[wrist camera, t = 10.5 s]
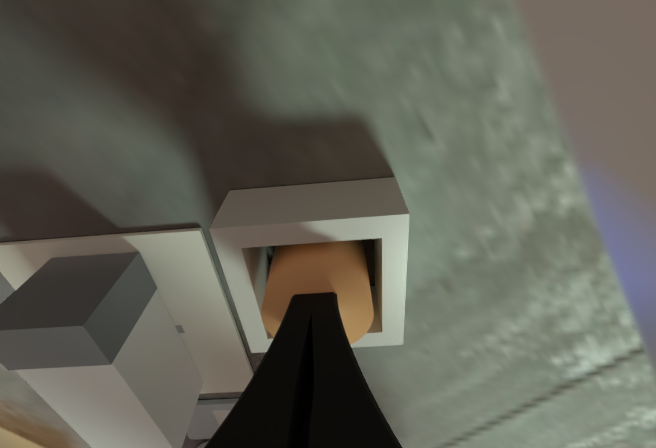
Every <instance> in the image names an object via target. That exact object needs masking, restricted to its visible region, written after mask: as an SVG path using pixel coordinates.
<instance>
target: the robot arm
mask: <svg viewBox="0 0 656 448" xmlns="http://www.w3.org/2000/svg"><path fill="white" fill-rule="evenodd" d="M204 448H402V446H401V445H400V443H399V441H398V440H397V438H396V436H395V435H394V433H393V431H392V430H391V428H390V426H389V424H388V422H387V421H386V419H385V417H384V415H383V414H382V412H381V410H380V408H379V406H378V404H377V402H376V400H375V399H374V397H373V395H372V393H371V391H370V389H369V387H368V385H367V382H366V380H365V378H364V376H363V374H362V372H361V370H360V367H359V365H358V363H357V360H356V358H355V356H354V353H353V351H352V348H351V346H350V343H349V340H348V338H347V335H346V332H345V329H344V326H343V323H342V319H341V316H340V311H339V307H338V299H337V294H336V293H334V292H325V293H310V294H294V295H293V296H292V297H291V300H290V303H289V306H288V308H287V311H286V313H285V315H284V318H283V320H282V322H281V324H280V326H279V329H278V331H277V333H276V335H275V337H274V339H273V341H272V343H271V344H270V346H269V348H268V350H267V352H266V354H265V356H264V358H263V360H262V361H261V363H260V365H259V366H258V368H257V370H256V372H255V373H254V375H253V377H252V379H251V380H250V382H249V384H248V385H247V387H246V388H245V390H244V392H243V393H242V395H241V396H240V398H239V399H238V401H237V402H236V404H235V405H234V407H233V408H232V410H231V411H230V413H229V414H228V416H227V417H226V418H225V420H224V421H223V422H222V424H221V425H220V427H219V428H218V429H217V431H216V432H215V433H214V435H213V436H212V438H211V439H210V440H209V442H208V443H207V444H206V446H205V447H204Z"/></svg>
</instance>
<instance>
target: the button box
mask: <svg viewBox="0 0 656 448" xmlns="http://www.w3.org/2000/svg"><path fill="white" fill-rule="evenodd" d="M209 231H210V234H211V236H212V239H213V242H214V245H215V248H216V251H217V254H218V257H219V260H220V263H221V266H222V268H223V271H224V274H225V277H226V280H227V283H228V286H229V289H230V292H231V295H232V298H233V300H234V303H235V306H236V309H237V312H238V315H239V318H240V321H241V324H242V327H243V330H244V332H245V335H246V338H247V341H248V344H249V347H250V350H251V353H261V352H267V350H268V348H269V346H270V344H271V343H272V341H273V339H274V337H273V336H272V335H271V334H270V333H269V331H268V330H267V329H266V327H265V325H264V323H263V321H262V316H261V309H262V304H263V299H264V294H265V290H266V285H267V281H268V276H269V272H270V265H269V261H268V257H267V253H266V248H265V246H278V245H292V244H306V243H320V242H334V241H348V240H362V239H374V271H375V286H370V290H371V297H372V304H373V311H374V317H373V322H372V324H371V327H370V328H369V330H368V331H367V333H366V334H365V335H364V336H363V337H362V338H361V339H359V340H358V341H356V342H355V343H353V344H351V345H350V346H351V347H369V346H387V345H403V334H404V314H405V294H406V274H407V254H408V234H409V211H408V209H407V206H406V204H405V201H404V198H403V196H402V193H401V191H400V188H399V185H398V183H397V180H396V177H390V178H378V179H365V180H353V181H341V182H328V183H316V184H303V185H291V186H279V187H266V188H254V189H242V190H229V192H228V194H227V196H226V198H225V200H224V202H223V204H222V205H221V207H220V209H219V211H218V213H217V215H216V217H215V219H214V220H213V222H212V224H211V226H210V228H209Z"/></svg>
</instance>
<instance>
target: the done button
mask: <svg viewBox="0 0 656 448" xmlns="http://www.w3.org/2000/svg"><path fill="white" fill-rule="evenodd" d="M325 292H334V293H336V294H337V299H338V307H339V311H340V316H341V319H342V323H343V326H344V329H345V332H346V335H347V338H348V340H349V343H350V345H351V344H353V343H355V342H356V341H358V340H359V339H361V338H362V337H363V336H364V335H365V334H366V333H367V331H368V330H369V328H370V327H371V324H372V322H373V317H374V311H373V304H372V297H371V290H370V283H369V276H368V269H367V262H366V255H365V249H364V246H363V243H362V241H361V240H348V241H334V242H320V243H306V244H292V245H278V246H275V249H274V254H273V258H272V263H271V267H270V272H269V276H268V281H267V285H266V290H265V294H264V299H263V304H262V309H261V316H262V321H263V323H264V325H265V327H266V329H267V330H268V331H269V333H270V334H271V335H272V336H273V337H275V335H276V333H277V331H278V329H279V326H280V324H281V322H282V320H283V318H284V315H285V313H286V311H287V308H288V306H289V303H290V300H291V297H292V296H293V295H294V294H310V293H325Z"/></svg>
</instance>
